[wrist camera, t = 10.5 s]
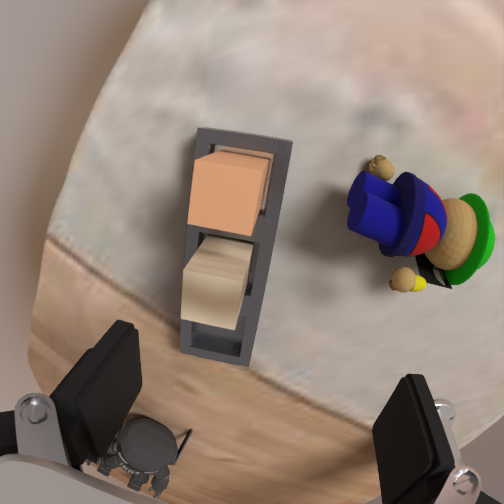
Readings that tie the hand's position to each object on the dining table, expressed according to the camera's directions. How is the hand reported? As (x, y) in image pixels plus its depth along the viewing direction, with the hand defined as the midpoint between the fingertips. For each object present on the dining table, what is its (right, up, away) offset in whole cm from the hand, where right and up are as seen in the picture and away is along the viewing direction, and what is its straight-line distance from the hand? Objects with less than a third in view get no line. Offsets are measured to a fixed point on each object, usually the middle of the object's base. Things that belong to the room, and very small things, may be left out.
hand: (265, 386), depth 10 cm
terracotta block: (-1, +11, +18) cm, 21 cm away
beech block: (-3, +4, +21) cm, 22 cm away
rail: (-3, +4, +22) cm, 23 cm away
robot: (-22, -33, +40) cm, 56 cm away
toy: (+15, +8, +19) cm, 25 cm away
